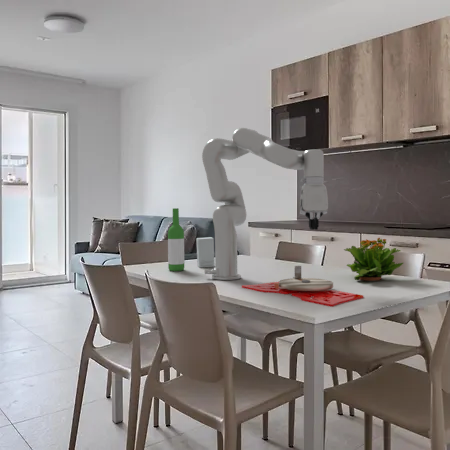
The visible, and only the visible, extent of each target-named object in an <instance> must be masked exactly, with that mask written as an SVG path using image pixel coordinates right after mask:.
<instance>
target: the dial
mask: <svg viewBox="0 0 450 450" xmlns="http://www.w3.org/2000/svg"><path fill="white" fill-rule="evenodd" d="M294 277H295V278H293V277H292V278H291V277H290V278H285V279H281V280H279V281H278V282H279V287H281V288H284V289H289V290H297V291H302V292H303V291H320V290H328V289H331V290H332V289H333V288H334V282H333V281H332V280H328V279H323V278H315V277H313V278H312V277H302V265H294Z"/></svg>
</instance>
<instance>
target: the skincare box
mask: <svg viewBox="0 0 450 450" xmlns="http://www.w3.org/2000/svg"><path fill="white" fill-rule="evenodd" d="M195 241H196V259H197V261H196V262H197V267H198V268H201V269H202V268H214V267H215V237H211V236H208V237H197V238H196V240H195Z"/></svg>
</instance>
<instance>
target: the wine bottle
mask: <svg viewBox="0 0 450 450" xmlns="http://www.w3.org/2000/svg"><path fill="white" fill-rule="evenodd" d="M179 211H180V210H179V208H172V225H171V226H170V227H169V228H168V231H167V258H168V261H167V263H168V267H167V268H168V271H170V272H181V271H184V270H185V232H184V228H183V226H181V225H180V214H179Z"/></svg>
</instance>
